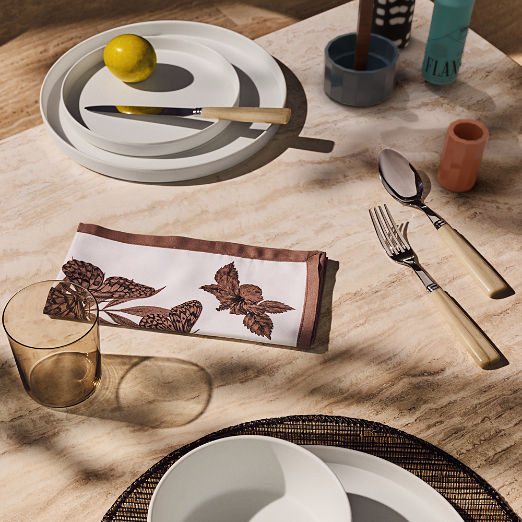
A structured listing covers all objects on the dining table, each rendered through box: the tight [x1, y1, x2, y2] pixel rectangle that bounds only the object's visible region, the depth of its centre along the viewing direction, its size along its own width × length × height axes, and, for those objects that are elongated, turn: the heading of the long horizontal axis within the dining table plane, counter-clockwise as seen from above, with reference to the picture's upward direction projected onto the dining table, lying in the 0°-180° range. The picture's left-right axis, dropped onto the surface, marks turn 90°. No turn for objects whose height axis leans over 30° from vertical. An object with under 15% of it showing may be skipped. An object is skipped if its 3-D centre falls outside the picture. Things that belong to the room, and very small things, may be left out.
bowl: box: [322, 31, 401, 107], centre depth 115 cm, size 12×12×7 cm
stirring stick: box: [353, 0, 374, 71], centre depth 108 cm, size 2×2×24 cm
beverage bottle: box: [420, 0, 476, 86], centre depth 111 cm, size 6×7×20 cm
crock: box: [436, 118, 490, 193], centre depth 98 cm, size 6×6×9 cm
